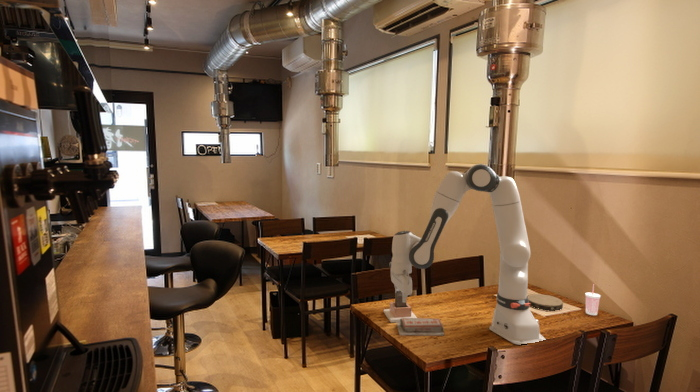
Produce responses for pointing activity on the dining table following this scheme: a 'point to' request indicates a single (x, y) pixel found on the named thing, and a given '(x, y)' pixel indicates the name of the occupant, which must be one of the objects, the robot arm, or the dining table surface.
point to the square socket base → (398, 312)
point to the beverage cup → (592, 302)
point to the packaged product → (420, 326)
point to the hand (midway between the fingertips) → (400, 298)
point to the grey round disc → (545, 302)
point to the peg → (399, 300)
